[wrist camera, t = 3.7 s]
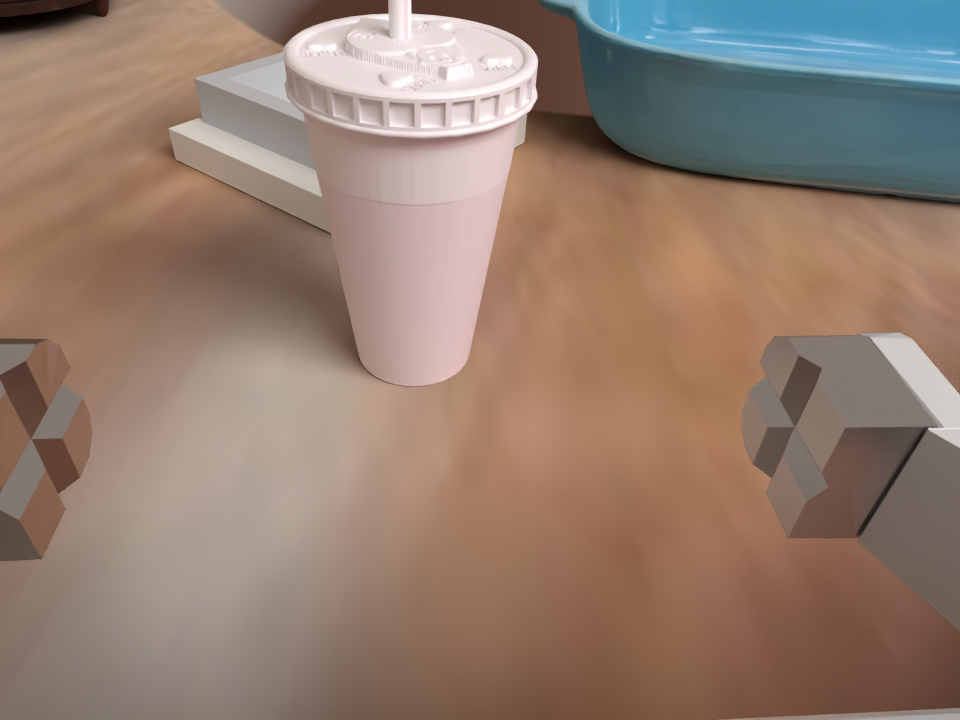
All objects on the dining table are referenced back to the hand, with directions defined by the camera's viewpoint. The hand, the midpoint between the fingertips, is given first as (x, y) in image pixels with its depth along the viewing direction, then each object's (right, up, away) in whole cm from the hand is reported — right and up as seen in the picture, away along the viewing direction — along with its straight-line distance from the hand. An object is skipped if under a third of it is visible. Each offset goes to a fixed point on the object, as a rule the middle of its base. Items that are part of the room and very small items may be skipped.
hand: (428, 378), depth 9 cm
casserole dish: (+22, +13, +33) cm, 42 cm away
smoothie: (-2, 0, +16) cm, 16 cm away
